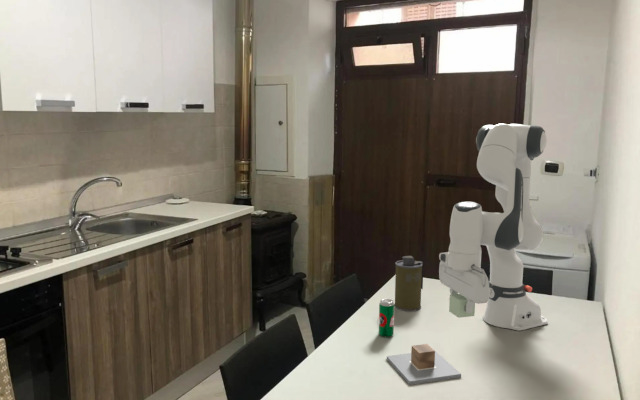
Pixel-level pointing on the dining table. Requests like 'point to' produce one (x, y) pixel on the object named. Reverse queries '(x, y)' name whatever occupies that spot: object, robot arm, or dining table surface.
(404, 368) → the board
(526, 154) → the robot arm
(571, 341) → the dining table surface
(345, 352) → the dining table surface
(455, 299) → the sage brick
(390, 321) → the soda can
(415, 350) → the walnut brick
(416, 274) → the canister
